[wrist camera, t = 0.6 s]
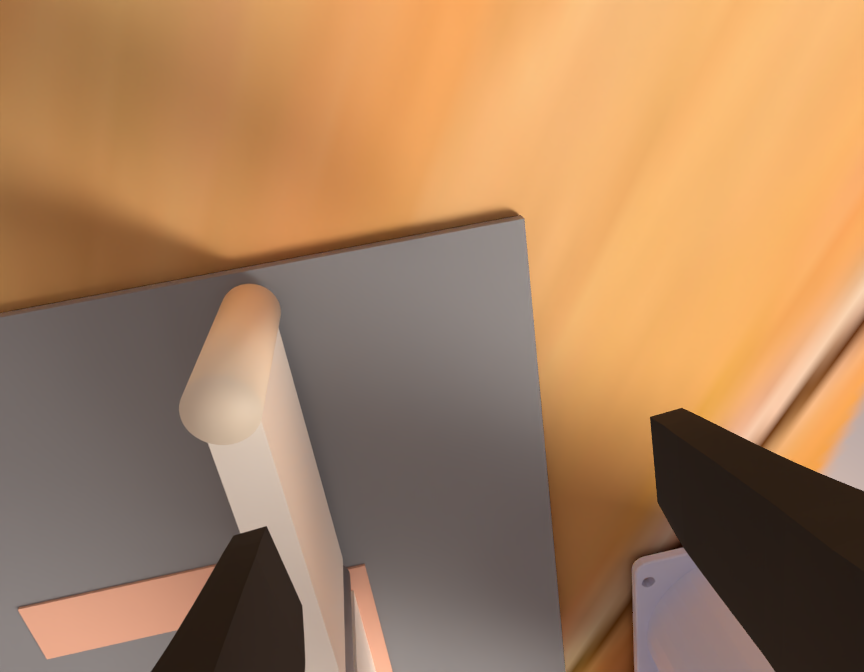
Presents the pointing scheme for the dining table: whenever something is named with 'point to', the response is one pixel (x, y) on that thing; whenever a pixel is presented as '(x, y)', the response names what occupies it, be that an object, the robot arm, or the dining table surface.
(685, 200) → the dining table surface
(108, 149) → the dining table surface
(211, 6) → the dining table surface
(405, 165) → the dining table surface
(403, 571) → the card
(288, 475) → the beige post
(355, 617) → the fixed fence section
